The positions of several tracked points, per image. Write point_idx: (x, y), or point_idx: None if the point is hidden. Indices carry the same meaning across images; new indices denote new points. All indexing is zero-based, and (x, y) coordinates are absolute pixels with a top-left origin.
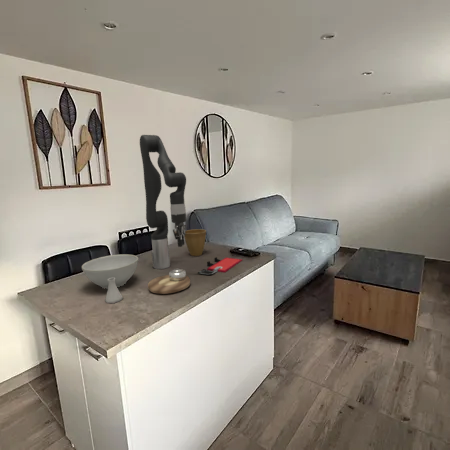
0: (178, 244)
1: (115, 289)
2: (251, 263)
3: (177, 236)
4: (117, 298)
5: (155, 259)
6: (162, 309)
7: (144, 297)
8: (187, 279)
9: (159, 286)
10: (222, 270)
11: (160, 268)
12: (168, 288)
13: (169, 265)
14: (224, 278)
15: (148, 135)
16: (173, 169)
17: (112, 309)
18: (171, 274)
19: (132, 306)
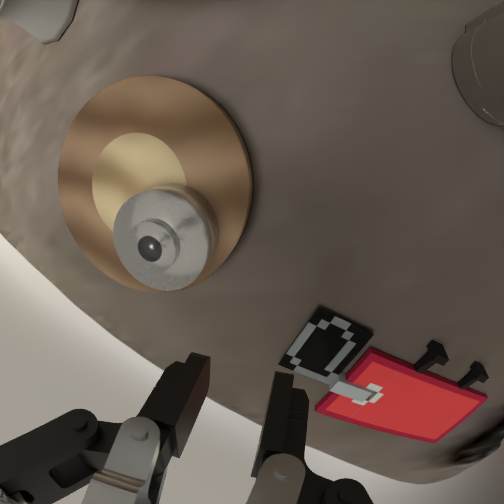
0: (163, 377)
1: (18, 25)
2: (385, 460)
3: (122, 464)
4: (36, 38)
5: (485, 25)
6: (14, 214)
7: (60, 114)
8: None
9: (84, 159)
10: (322, 404)
11: (453, 65)
12: (70, 210)
13: (490, 121)
14: (244, 399)
15: None
16: None
17: (11, 63)
18: (116, 216)
19: (18, 112)
